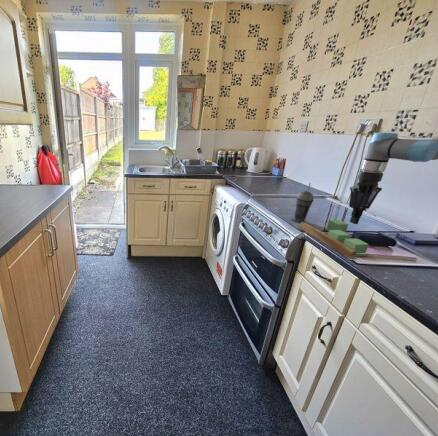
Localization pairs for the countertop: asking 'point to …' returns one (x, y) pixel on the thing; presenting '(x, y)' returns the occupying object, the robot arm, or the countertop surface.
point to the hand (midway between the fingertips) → (353, 222)
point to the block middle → (338, 235)
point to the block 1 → (337, 225)
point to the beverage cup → (303, 205)
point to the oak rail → (329, 240)
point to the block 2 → (357, 245)
